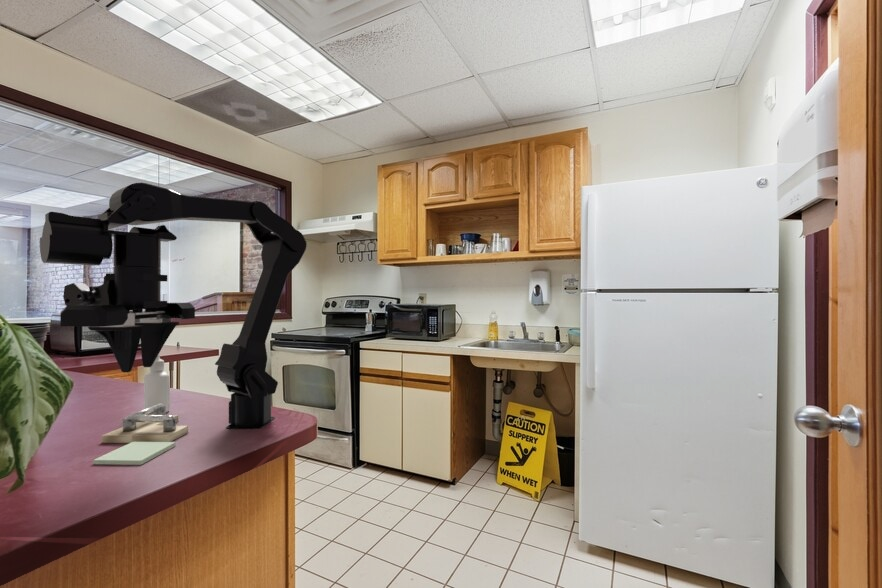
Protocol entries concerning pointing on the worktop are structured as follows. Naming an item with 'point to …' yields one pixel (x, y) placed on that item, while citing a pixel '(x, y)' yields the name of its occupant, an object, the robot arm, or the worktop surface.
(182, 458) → the worktop surface
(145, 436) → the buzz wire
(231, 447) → the worktop surface
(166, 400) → the eye dropper bottle
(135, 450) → the pad
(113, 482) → the worktop surface
